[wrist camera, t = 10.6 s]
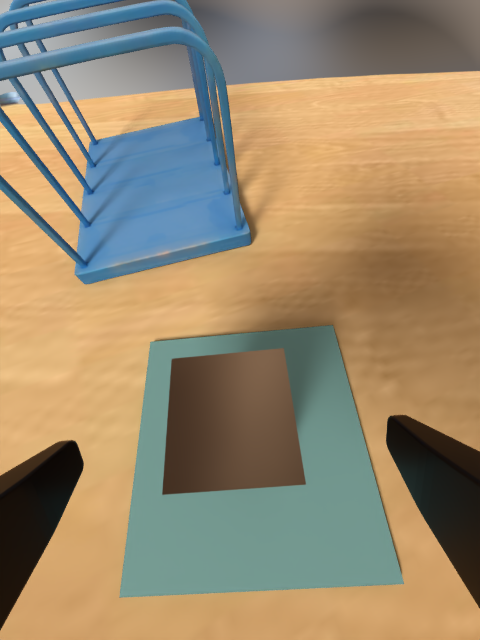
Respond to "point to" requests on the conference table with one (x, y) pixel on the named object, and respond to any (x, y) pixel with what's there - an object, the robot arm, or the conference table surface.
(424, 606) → the conference table surface
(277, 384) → the link bar
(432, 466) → the robot arm
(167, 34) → the file sorter
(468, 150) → the conference table surface
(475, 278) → the conference table surface
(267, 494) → the rubber mat
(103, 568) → the conference table surface
